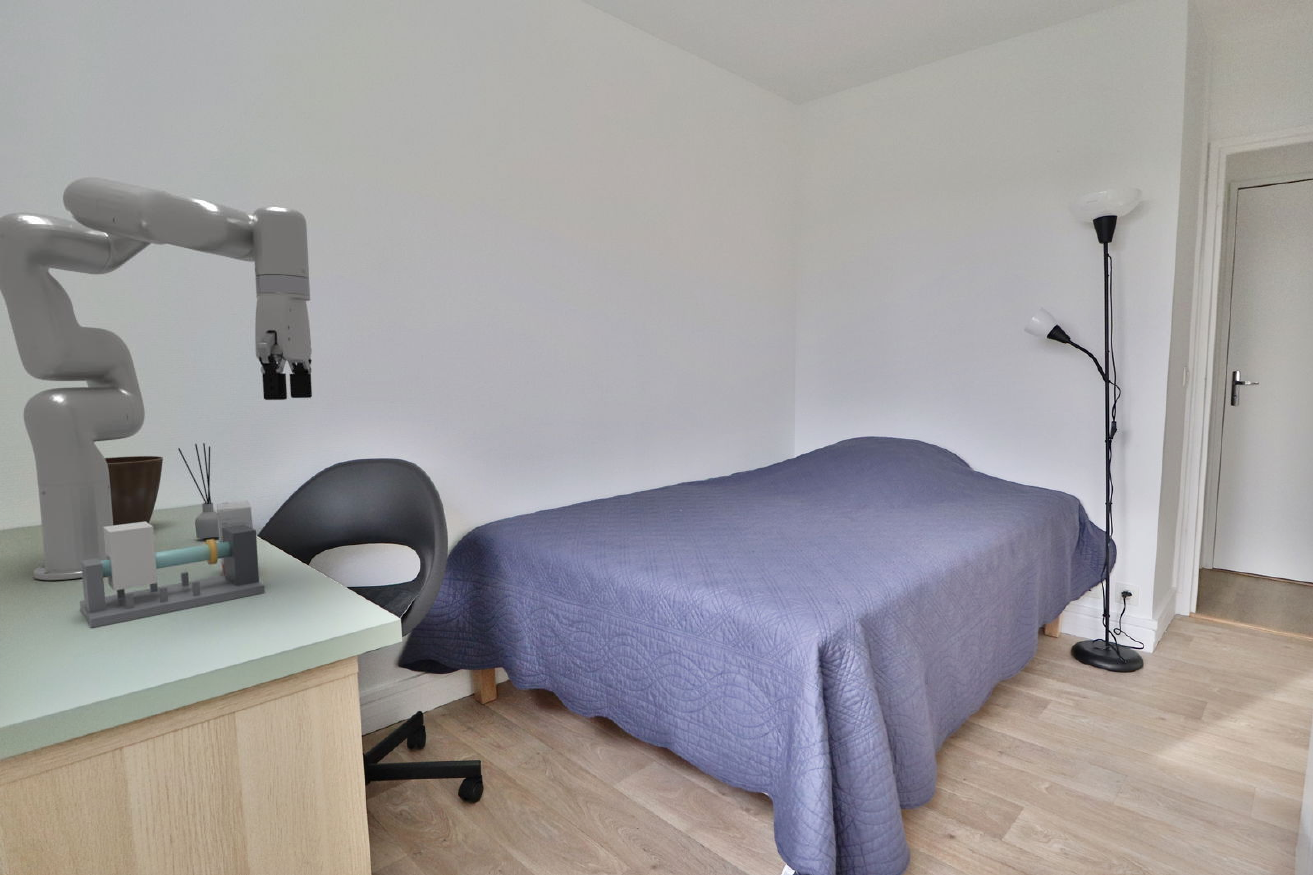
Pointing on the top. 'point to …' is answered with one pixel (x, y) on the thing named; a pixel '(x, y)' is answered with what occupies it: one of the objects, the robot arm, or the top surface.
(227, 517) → the ink box
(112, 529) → the sleeve
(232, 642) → the top surface
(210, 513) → the reed diffuser
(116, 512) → the plant pot
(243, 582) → the motor shaft test rig
